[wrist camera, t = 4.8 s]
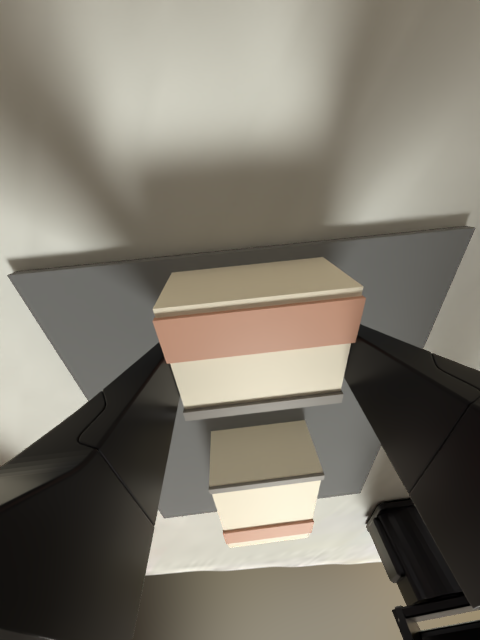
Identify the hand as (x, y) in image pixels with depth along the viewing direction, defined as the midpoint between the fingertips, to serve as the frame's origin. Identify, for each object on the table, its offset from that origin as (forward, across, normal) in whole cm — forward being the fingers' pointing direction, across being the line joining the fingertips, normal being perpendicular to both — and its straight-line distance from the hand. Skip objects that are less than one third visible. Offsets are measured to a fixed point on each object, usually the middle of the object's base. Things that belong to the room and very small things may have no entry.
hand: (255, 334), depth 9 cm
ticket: (+1, 0, +13) cm, 13 cm away
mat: (+2, 0, +8) cm, 9 cm away
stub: (+1, 0, 0) cm, 1 cm away
